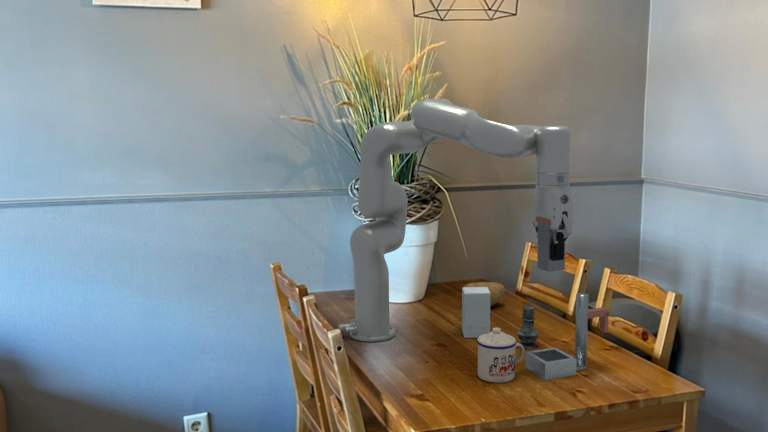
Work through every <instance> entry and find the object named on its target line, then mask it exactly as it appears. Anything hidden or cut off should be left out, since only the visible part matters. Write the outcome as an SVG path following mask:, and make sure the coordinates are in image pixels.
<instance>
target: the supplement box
mask: <svg viewBox="0 0 768 432" xmlns="http://www.w3.org/2000/svg"><path fill="white" fill-rule="evenodd" d="M461 292H462V293H461V330H462V335H463V338H467V339H468V338H471V339H474V338H476V339H478V337H479V336H481V335H483V334H487V333H489V332H491V306H490V295H491V294H490V291H489V289H488V287H464V286H462V289H461Z"/></svg>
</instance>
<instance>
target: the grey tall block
mask: <svg viewBox="0 0 768 432" xmlns="http://www.w3.org/2000/svg"><path fill="white" fill-rule="evenodd" d="M536 222H538V238H537V257H536V258H537V262H536V263H537V264H536V265H537V266H536V267H537V269H539V270H542V271H545V272H548V273H549V272H550V273H551V272H559V271H565V270H566V268H565V267H566V243H564V259H563V260H557V261H552V260H551V243H553V236H552V230H551V229H550V227H549V225H550V220H549V219H545V218H541V217H536ZM559 229H561V227H559ZM559 229H558V230H559ZM559 234H560V232H557V237H558V235H559Z"/></svg>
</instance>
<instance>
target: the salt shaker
mask: <svg viewBox="0 0 768 432" xmlns="http://www.w3.org/2000/svg"><path fill="white" fill-rule="evenodd" d="M520 320H521V322H522V323H521V325H522V326H521V329H518V330H517V331H516V334H517V337H518V339H519V341H520V342H518V343H519V344H521V345H522V346H523V347H524V350H533V349H537V348H538V347H539V345H538V344H537V343H536V341H537V340H538V338H539V335H540V332H539V331H538V330H536V329H535V321H536V318H535V308H534V306H533V305H531V303H530V301H528V302H527V304H525V305H523V307H522V317H521V318H520ZM517 347H518V348H520V347H519V346H517Z"/></svg>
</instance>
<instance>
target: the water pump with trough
mask: <svg viewBox="0 0 768 432" xmlns="http://www.w3.org/2000/svg"><path fill="white" fill-rule="evenodd" d="M589 295H590V294H588V293H585V292H579V293H576V295H575V296H576V297H575V298H576V301H575V325H574V327H575V329H574V356H572V355H570V354H568V353H567V352H565V351H563V350H561V349H559V348H557V347H550V348H544V349H538V350H537V349H536V350H530V351H525V353H524V356H525V360H524V361H525V362H524V363H525V365H524V369H526V370H528V371H529V372H531V373H532V374H534V375H535V376H537V377H538V378H540V379H542V380H544V381H549V380H550V381H551V380H556V379H561V378H568V377H573V376H577V371H584V370H587V355H588V353H587V352H588V349H587V348H588V328H589V327H588V325H589V324H588V323H589V319H593V318H594V319H595V318H596V319H597V318H599V327H598V328H599V329H598V331H599V332H602V333H603V334H606V333H607V334H609V317H610V316H609V313H610V309H609V308H606V307H604V306H603V307H596V308H594V307H593V308H589V299H590V298H589Z"/></svg>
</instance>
